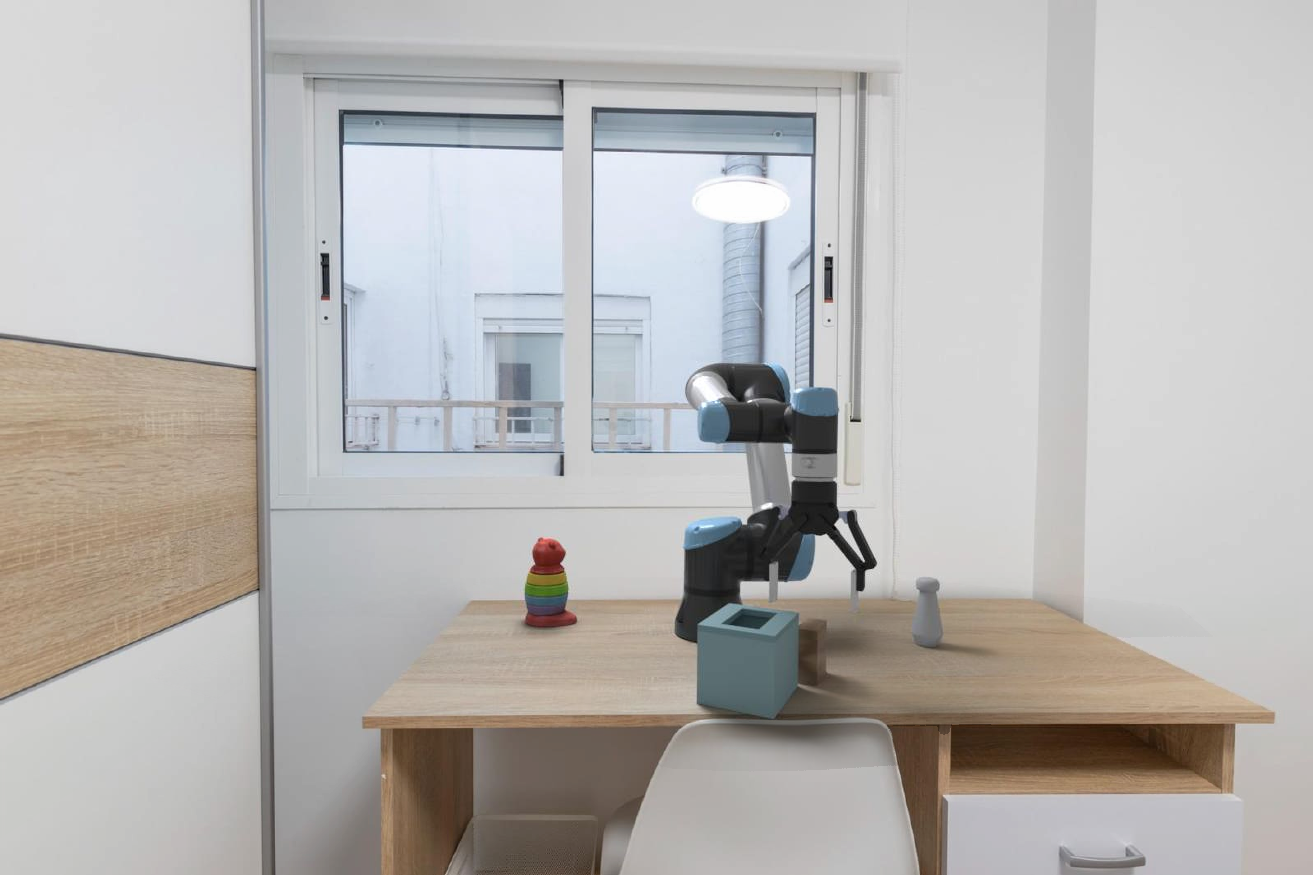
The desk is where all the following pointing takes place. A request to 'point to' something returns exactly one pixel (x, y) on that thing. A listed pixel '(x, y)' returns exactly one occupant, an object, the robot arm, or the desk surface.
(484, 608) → the desk surface
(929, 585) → the salt shaker
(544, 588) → the stacking bear
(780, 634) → the coin box
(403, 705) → the desk surface
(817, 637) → the block
